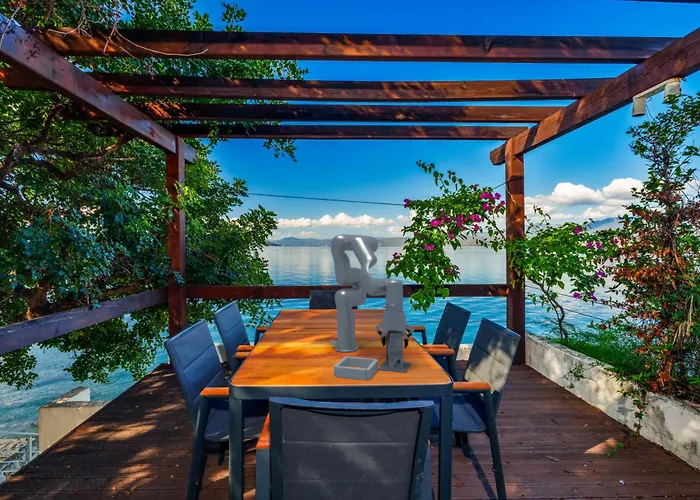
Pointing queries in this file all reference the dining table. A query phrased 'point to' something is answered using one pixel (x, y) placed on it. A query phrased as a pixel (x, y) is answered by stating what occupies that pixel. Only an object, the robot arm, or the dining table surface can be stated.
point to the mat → (386, 368)
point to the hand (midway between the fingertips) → (394, 346)
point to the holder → (356, 373)
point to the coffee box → (394, 349)
